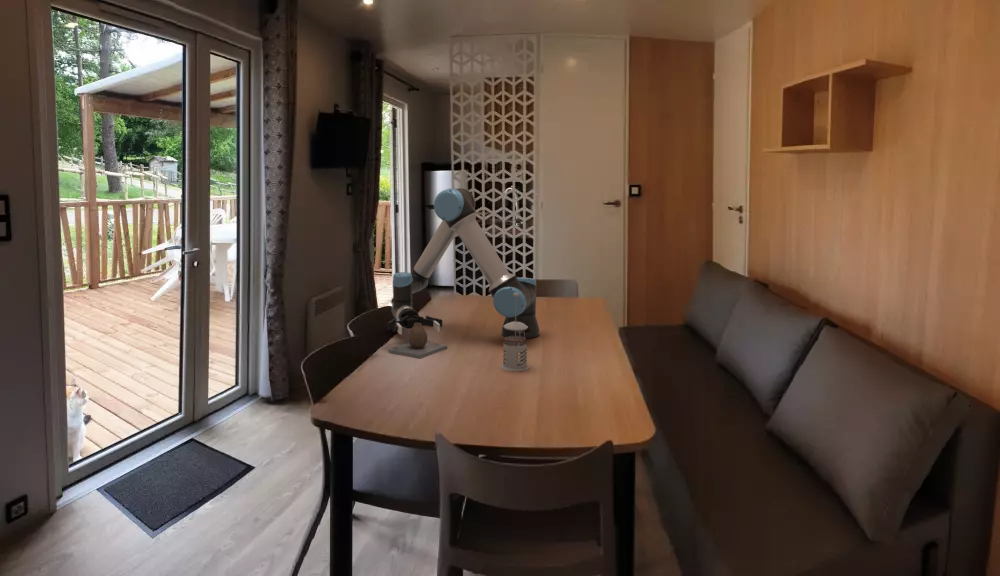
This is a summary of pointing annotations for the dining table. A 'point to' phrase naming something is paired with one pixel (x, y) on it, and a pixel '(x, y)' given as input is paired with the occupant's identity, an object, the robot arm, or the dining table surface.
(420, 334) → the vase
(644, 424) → the dining table surface
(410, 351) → the slate tile
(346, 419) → the dining table surface
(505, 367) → the french press
